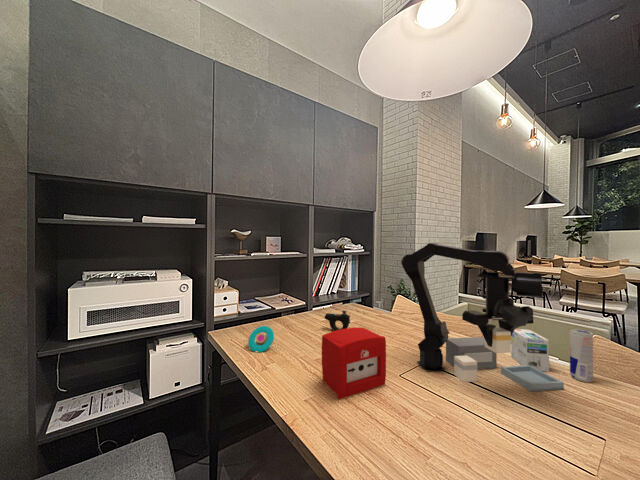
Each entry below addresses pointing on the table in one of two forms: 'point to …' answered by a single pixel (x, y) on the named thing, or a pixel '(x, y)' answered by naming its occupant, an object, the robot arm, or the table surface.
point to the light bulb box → (530, 349)
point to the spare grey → (465, 368)
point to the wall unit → (471, 351)
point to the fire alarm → (353, 361)
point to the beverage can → (581, 355)
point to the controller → (338, 317)
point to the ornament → (261, 339)
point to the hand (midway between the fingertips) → (497, 346)
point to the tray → (532, 378)
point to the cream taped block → (500, 341)
